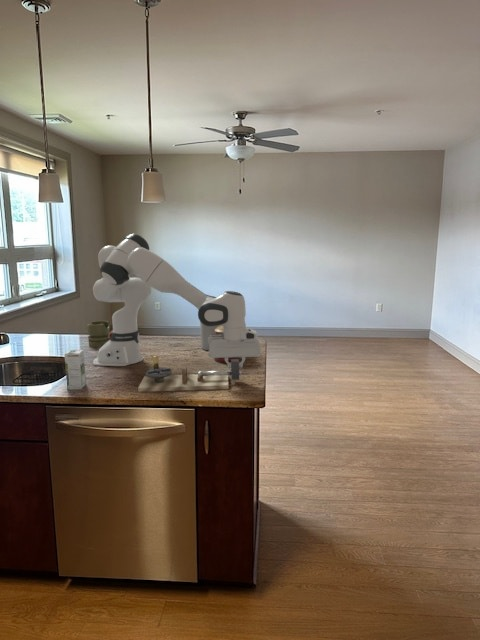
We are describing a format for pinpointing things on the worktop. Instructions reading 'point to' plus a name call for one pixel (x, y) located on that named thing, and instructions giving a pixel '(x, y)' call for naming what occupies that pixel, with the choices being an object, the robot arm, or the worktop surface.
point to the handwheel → (158, 370)
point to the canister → (220, 331)
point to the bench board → (176, 384)
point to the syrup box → (75, 369)
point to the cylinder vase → (206, 334)
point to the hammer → (234, 371)
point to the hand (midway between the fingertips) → (235, 367)
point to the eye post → (184, 373)
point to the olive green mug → (98, 333)
